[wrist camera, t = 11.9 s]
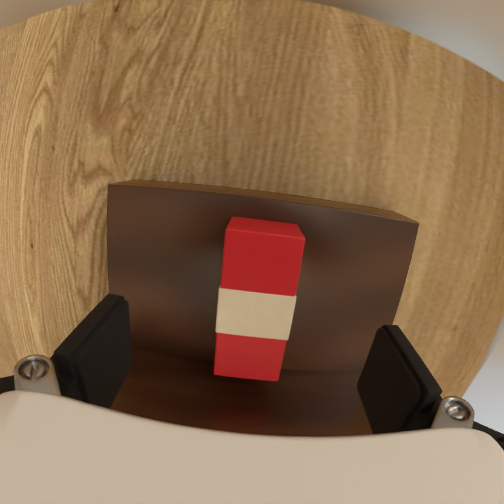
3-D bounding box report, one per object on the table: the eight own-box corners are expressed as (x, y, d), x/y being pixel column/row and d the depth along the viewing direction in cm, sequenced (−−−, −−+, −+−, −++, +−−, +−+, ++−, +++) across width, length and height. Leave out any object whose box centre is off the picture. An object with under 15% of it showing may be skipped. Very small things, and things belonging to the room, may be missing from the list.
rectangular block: (230, 215, 16) (223, 228, 13) (298, 224, 16) (307, 238, 13) (218, 344, 18) (212, 375, 16) (276, 351, 19) (279, 382, 16)
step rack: (134, 179, 20) (43, 198, 10) (393, 211, 20) (480, 252, 10) (142, 406, 26) (109, 486, 16) (328, 426, 26) (346, 511, 16)
